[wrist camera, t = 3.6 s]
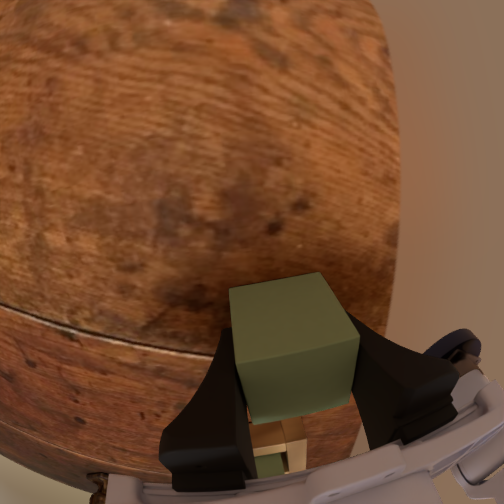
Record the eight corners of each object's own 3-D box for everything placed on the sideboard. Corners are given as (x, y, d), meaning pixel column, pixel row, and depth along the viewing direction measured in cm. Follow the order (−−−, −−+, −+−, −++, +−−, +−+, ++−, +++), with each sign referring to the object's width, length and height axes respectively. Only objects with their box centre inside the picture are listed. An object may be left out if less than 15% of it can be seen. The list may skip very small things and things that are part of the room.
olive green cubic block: (319, 270, 14) (361, 335, 10) (320, 337, 16) (349, 403, 12) (228, 287, 14) (235, 363, 9) (242, 353, 16) (252, 425, 11)
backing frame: (300, 413, 19) (307, 438, 17) (300, 472, 26) (304, 489, 24) (189, 429, 19) (189, 455, 17) (229, 483, 26) (231, 500, 24)
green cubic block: (275, 430, 20) (286, 480, 16) (279, 450, 22) (288, 493, 18) (221, 438, 20) (225, 488, 16) (231, 457, 22) (236, 500, 18)
